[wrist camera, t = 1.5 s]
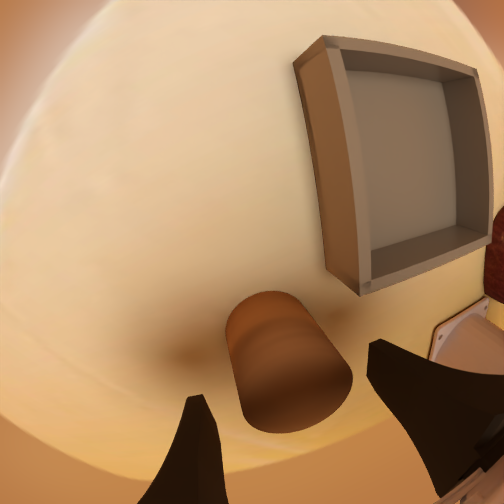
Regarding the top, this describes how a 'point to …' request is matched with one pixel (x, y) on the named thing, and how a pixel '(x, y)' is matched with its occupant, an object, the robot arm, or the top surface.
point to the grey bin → (395, 158)
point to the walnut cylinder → (284, 364)
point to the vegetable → (495, 261)
